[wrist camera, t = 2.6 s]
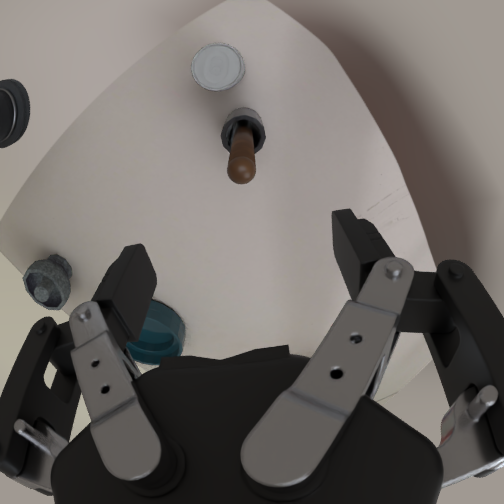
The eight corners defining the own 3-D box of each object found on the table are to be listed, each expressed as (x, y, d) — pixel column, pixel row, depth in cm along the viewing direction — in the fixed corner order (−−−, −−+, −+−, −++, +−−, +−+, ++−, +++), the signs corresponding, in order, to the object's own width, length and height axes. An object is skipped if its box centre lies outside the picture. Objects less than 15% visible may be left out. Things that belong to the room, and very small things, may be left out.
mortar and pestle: (67, 294, 53) (43, 336, 43) (34, 265, 49) (5, 304, 39) (90, 266, 49) (63, 312, 39) (54, 233, 45) (20, 274, 35)
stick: (237, 133, 37) (229, 191, 20) (234, 119, 36) (223, 163, 19) (252, 130, 37) (258, 185, 20) (250, 116, 36) (253, 158, 19)
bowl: (133, 348, 62) (128, 366, 58) (101, 300, 54) (93, 317, 49) (195, 344, 61) (192, 363, 56) (170, 291, 52) (164, 311, 48)
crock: (230, 143, 38) (226, 160, 31) (222, 111, 36) (217, 120, 29) (264, 137, 38) (268, 152, 31) (258, 104, 35) (261, 111, 28)
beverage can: (203, 84, 33) (185, 88, 23) (210, 49, 31) (194, 39, 21) (241, 89, 34) (239, 95, 24) (248, 54, 31) (248, 45, 21)
